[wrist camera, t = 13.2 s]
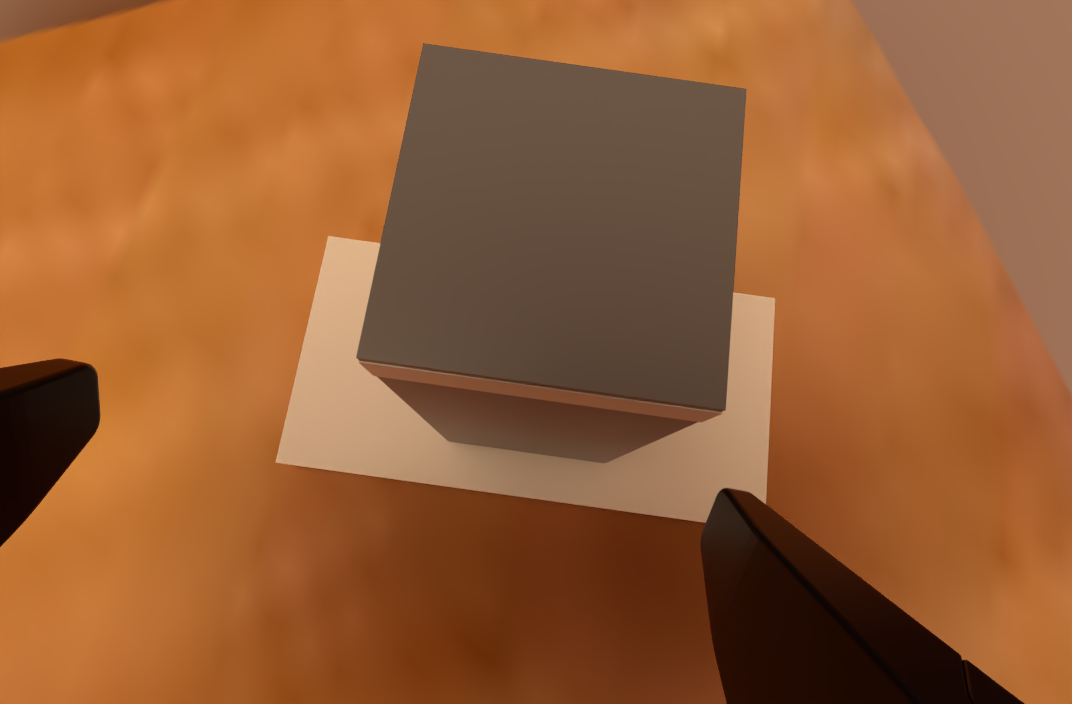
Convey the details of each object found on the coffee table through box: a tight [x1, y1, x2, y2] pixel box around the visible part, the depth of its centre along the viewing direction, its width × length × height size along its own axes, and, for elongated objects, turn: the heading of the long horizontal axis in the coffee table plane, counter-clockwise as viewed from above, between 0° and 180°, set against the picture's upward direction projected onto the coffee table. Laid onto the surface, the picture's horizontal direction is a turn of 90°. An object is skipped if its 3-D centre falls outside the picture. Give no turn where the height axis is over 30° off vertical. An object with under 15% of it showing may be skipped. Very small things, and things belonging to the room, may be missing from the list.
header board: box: [275, 236, 775, 523], centre depth 20 cm, size 8×16×4 cm, turn 82°
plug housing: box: [356, 43, 746, 463], centre depth 15 cm, size 5×5×12 cm
